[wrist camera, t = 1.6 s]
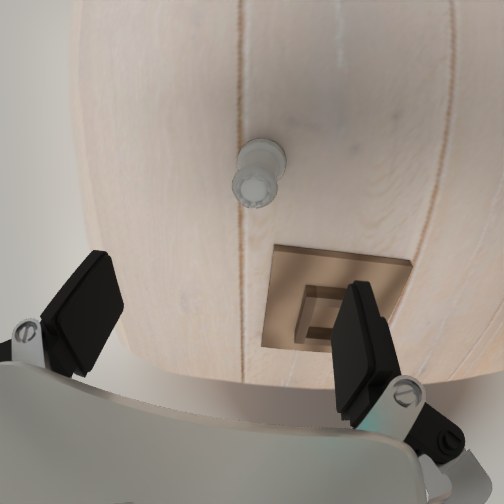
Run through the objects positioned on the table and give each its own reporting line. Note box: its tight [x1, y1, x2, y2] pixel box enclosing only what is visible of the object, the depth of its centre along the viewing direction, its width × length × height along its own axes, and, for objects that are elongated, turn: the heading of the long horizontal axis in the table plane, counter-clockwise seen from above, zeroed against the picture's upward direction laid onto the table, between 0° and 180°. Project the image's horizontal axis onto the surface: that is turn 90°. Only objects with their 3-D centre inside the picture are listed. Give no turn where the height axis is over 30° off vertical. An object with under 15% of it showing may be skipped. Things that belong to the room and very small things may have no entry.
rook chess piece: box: [232, 139, 286, 209], centre depth 23 cm, size 4×4×8 cm
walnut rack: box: [261, 245, 413, 353], centre depth 34 cm, size 16×16×3 cm
